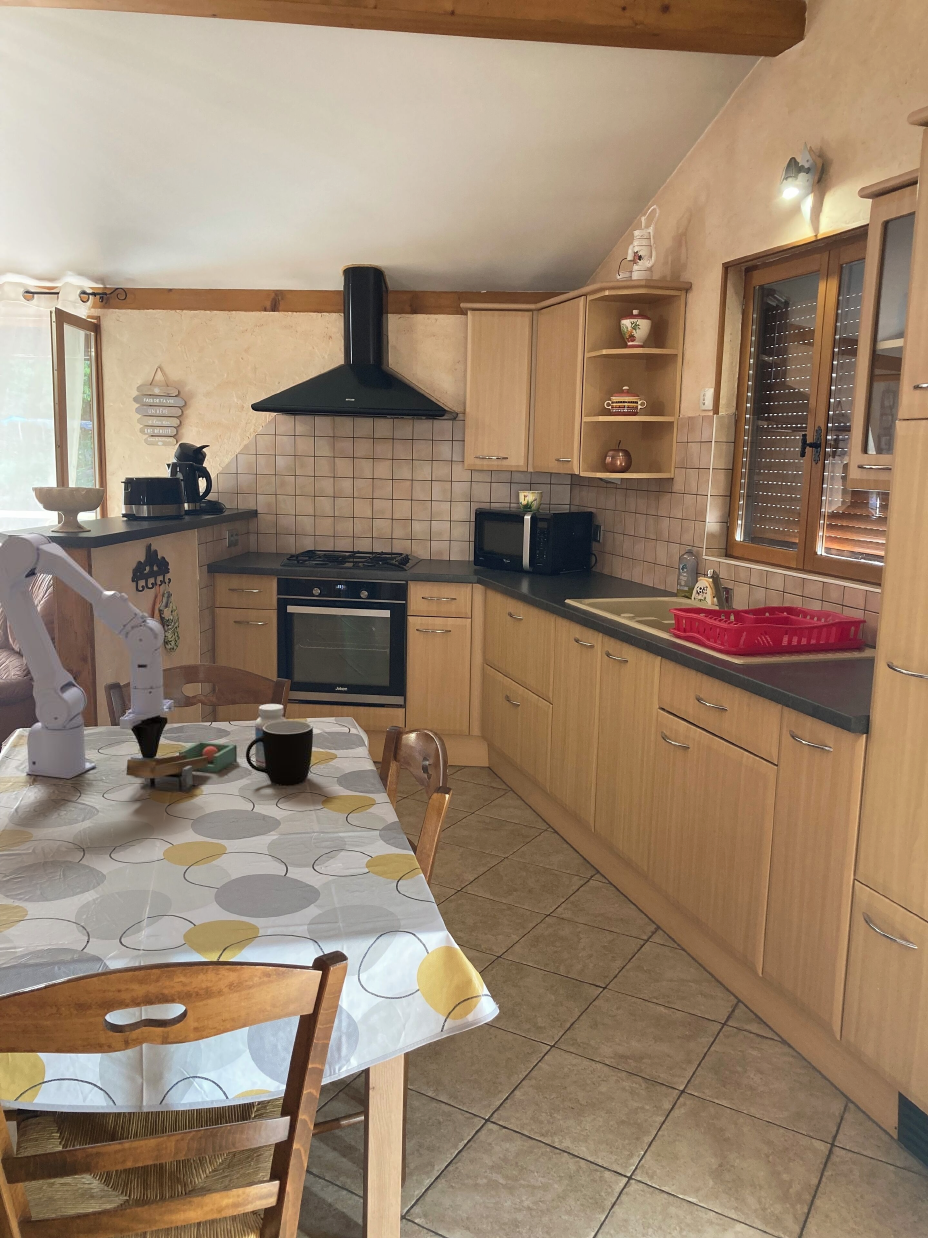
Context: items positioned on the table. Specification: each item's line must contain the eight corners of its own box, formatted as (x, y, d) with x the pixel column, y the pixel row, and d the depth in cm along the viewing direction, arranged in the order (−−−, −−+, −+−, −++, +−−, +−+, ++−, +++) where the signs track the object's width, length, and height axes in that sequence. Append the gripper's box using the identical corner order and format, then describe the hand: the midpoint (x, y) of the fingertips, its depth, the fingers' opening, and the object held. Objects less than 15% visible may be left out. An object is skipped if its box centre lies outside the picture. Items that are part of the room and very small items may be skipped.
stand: (140, 788, 166) (139, 766, 165) (153, 781, 170) (152, 759, 169) (186, 793, 164) (185, 771, 163) (198, 786, 168) (197, 764, 167)
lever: (82, 773, 160) (83, 754, 160) (142, 762, 178) (144, 745, 178) (155, 782, 157) (156, 762, 157) (209, 769, 174) (210, 752, 174)
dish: (179, 768, 177) (178, 752, 177) (199, 757, 184) (199, 741, 184) (217, 772, 175) (217, 756, 175) (236, 761, 182) (236, 745, 182)
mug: (308, 770, 178) (308, 718, 176) (317, 786, 169) (316, 731, 168) (243, 776, 174) (242, 723, 172) (249, 792, 165) (248, 736, 164)
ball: (205, 742, 181) (208, 754, 183) (197, 753, 179) (201, 764, 180) (219, 744, 180) (222, 755, 182) (212, 754, 178) (215, 766, 180)
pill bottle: (270, 770, 177) (269, 712, 175) (248, 763, 181) (248, 707, 179) (294, 762, 182) (293, 706, 180) (273, 756, 186) (272, 701, 184)
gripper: (143, 696, 165) (146, 770, 167) (187, 679, 179) (189, 748, 181) (108, 693, 167) (111, 767, 169) (154, 676, 181) (156, 744, 183)
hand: (149, 757), depth 175 cm, fingers closed
